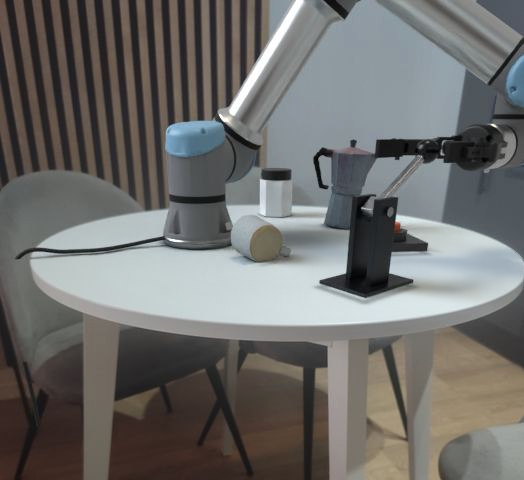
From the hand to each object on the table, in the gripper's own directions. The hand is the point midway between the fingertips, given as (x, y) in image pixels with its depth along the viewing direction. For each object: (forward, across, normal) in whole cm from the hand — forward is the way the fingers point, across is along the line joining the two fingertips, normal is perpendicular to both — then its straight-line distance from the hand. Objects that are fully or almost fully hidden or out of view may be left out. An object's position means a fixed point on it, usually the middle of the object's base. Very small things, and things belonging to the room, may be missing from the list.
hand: (410, 150), depth 74 cm
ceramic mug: (+8, +24, -20) cm, 32 cm away
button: (-17, +14, -16) cm, 27 cm away
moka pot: (-28, +36, -20) cm, 50 cm away
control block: (-17, +14, -20) cm, 30 cm away
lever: (0, 0, -5) cm, 5 cm away
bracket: (+7, 0, -20) cm, 21 cm away
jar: (-25, +58, -20) cm, 67 cm away
